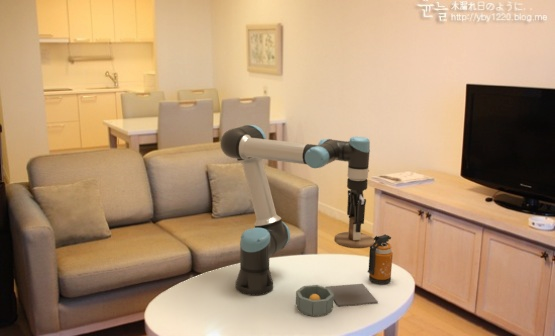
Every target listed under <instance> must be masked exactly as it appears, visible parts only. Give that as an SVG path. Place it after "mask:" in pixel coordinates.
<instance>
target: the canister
mask: <svg viewBox="0 0 555 336" xmlns="http://www.w3.org/2000/svg"><path fill="white" fill-rule="evenodd" d="M373 239H374V244H373V245H372V246H370V247H369V257H368V258H369V259H368V269H367V273H368V279H369V281H371V282H374V283H376V284H382V285H383V284H388V283H389V282H391V280H392V279H391V278H392V268H393V267H392V266H393V255H394V254H393V251H392V250H393V249H392V245H391V244H390V243H389V240H391V239H392V237H391V236H390V235H388V234H383V235H378V236H377V235H375V236H374V237H373Z"/></svg>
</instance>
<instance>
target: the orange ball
mask: <svg viewBox="0 0 555 336" xmlns="http://www.w3.org/2000/svg"><path fill="white" fill-rule="evenodd" d="M309 299H311V300H321V299H320V297H319V295H317V294H312V295H311V296H310V297H309Z"/></svg>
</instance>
